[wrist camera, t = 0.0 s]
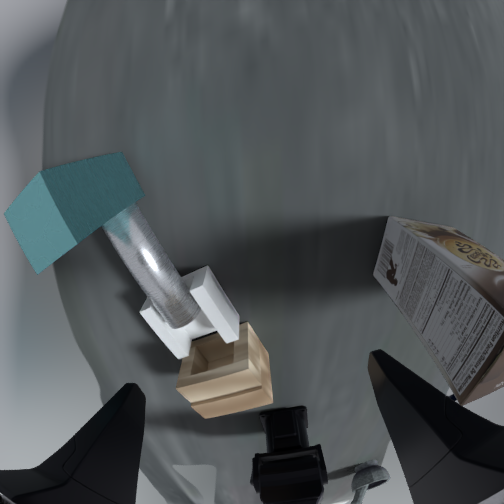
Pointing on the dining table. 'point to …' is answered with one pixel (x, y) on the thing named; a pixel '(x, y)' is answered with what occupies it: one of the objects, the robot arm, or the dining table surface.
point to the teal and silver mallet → (91, 218)
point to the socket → (226, 374)
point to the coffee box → (448, 301)
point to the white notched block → (208, 320)
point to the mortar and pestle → (367, 479)
